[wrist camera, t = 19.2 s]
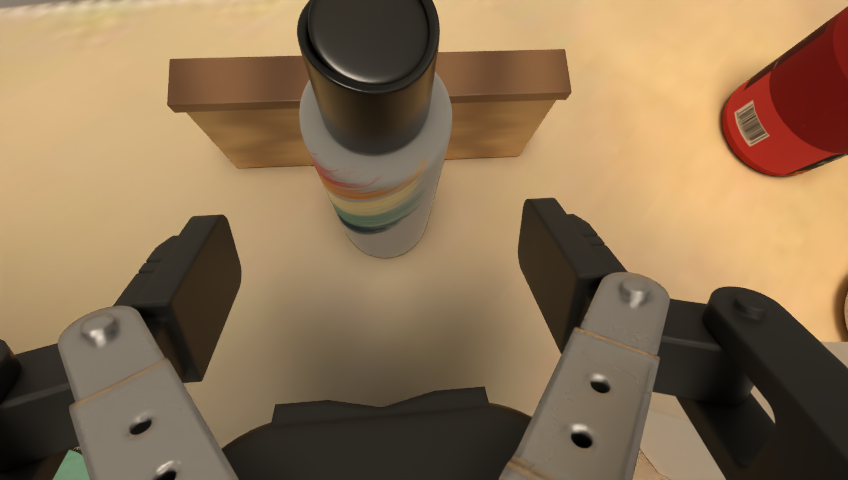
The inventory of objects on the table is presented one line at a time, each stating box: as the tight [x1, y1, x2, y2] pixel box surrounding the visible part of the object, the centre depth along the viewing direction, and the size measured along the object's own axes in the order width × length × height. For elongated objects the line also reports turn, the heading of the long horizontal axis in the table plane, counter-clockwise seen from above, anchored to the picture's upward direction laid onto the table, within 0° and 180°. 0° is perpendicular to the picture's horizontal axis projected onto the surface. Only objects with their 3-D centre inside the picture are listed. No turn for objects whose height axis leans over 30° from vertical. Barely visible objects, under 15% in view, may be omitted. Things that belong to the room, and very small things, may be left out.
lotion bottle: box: [297, 0, 452, 258], centre depth 21 cm, size 6×6×20 cm
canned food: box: [722, 7, 848, 176], centre depth 29 cm, size 8×8×11 cm
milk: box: [640, 342, 848, 480], centre depth 19 cm, size 6×6×22 cm
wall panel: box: [167, 49, 571, 168], centre depth 28 cm, size 21×3×9 cm, turn 94°
